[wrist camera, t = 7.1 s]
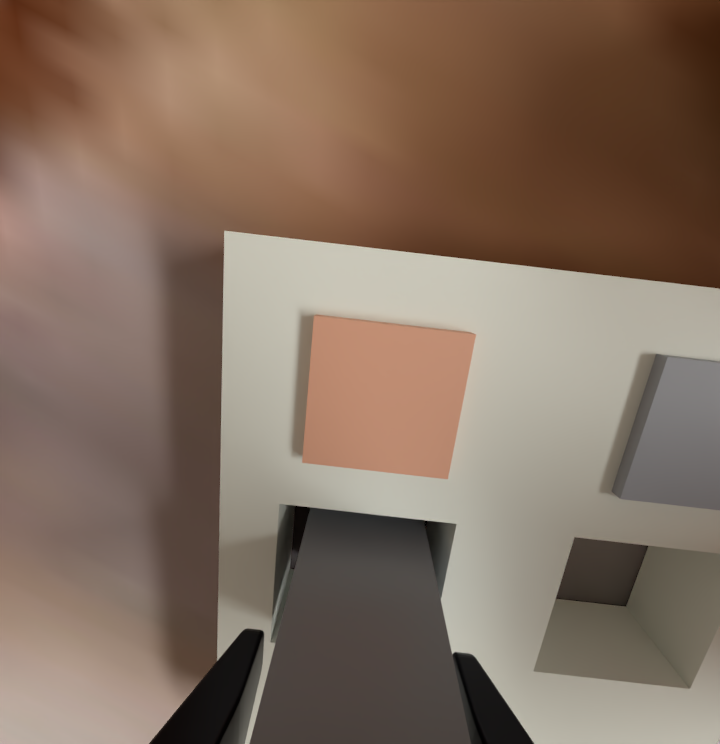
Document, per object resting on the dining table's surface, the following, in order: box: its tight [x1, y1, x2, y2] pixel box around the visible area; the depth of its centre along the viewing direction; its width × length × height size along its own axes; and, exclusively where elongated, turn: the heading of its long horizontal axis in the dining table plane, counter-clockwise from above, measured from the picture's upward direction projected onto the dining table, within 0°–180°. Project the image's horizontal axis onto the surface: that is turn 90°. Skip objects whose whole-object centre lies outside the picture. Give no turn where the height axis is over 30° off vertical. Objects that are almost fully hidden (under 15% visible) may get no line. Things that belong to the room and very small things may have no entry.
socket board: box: [217, 231, 720, 744], centre depth 10 cm, size 16×14×3 cm
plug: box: [250, 507, 471, 744], centre depth 7 cm, size 3×3×10 cm
